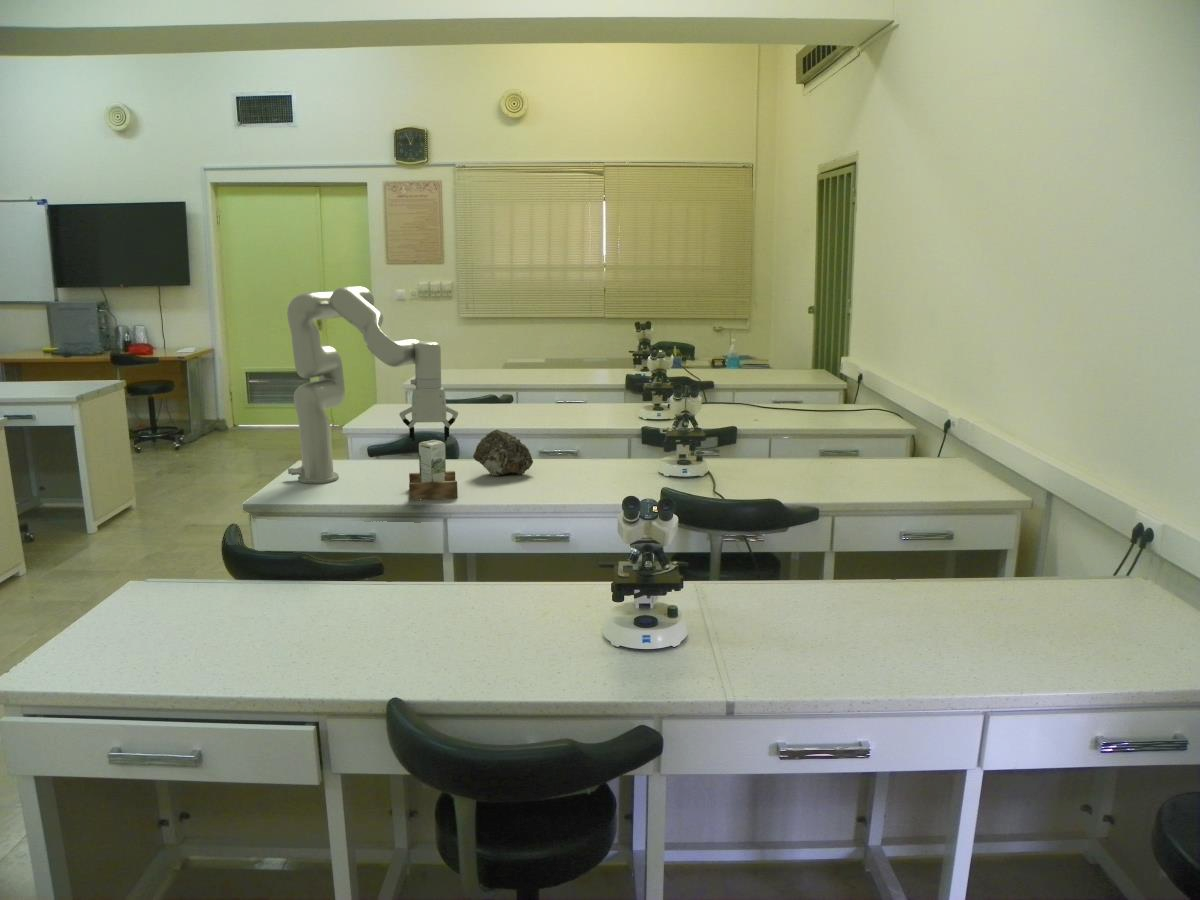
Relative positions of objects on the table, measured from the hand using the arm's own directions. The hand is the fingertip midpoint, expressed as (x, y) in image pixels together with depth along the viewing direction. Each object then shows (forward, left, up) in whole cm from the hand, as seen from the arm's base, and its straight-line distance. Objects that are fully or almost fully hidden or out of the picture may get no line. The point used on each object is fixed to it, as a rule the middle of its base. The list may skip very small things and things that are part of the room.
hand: (429, 439), depth 274 cm
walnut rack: (0, 0, -17) cm, 17 cm away
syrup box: (+1, 0, -15) cm, 15 cm away
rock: (+25, +22, -17) cm, 38 cm away
